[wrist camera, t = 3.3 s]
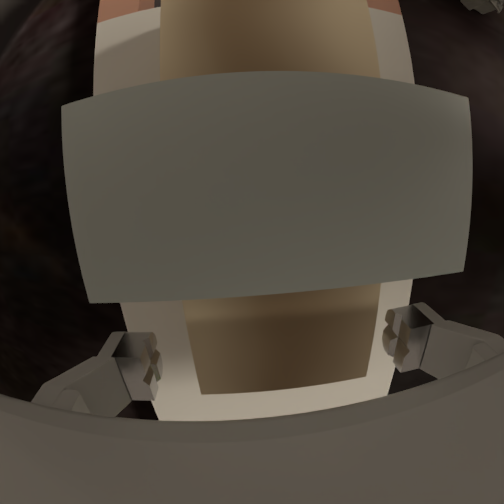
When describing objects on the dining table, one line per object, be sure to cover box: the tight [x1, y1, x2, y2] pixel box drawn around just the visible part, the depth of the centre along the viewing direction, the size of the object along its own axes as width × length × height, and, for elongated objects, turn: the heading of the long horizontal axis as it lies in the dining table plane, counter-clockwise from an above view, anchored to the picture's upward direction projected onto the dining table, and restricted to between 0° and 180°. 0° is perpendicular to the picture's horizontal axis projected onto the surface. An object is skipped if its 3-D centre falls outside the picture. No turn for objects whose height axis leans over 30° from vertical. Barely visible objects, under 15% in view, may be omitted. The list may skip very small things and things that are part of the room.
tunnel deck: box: [61, 0, 473, 421], centre depth 10 cm, size 14×32×8 cm, turn 4°
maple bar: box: [160, 0, 381, 395], centre depth 9 cm, size 6×14×4 cm, turn 4°
